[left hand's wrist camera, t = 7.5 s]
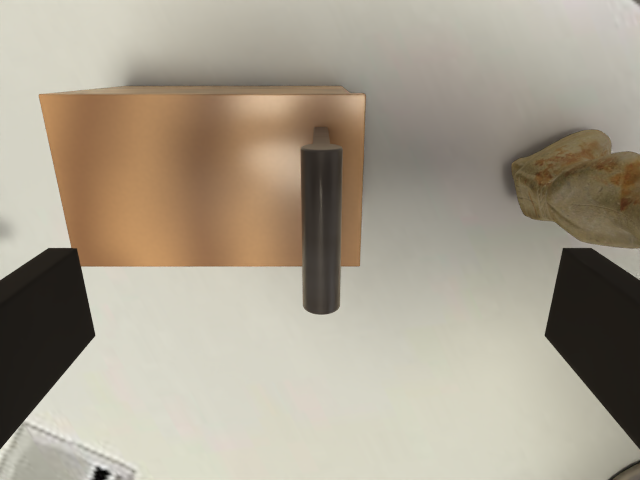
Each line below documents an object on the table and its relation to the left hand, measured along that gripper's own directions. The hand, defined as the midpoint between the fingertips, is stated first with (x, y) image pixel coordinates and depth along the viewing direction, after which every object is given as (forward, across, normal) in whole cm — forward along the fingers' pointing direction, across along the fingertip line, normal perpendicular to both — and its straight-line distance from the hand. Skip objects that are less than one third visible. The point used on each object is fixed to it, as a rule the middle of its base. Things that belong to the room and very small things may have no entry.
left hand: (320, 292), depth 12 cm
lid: (+13, +6, 0) cm, 14 cm away
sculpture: (+22, -17, +1) cm, 28 cm away
